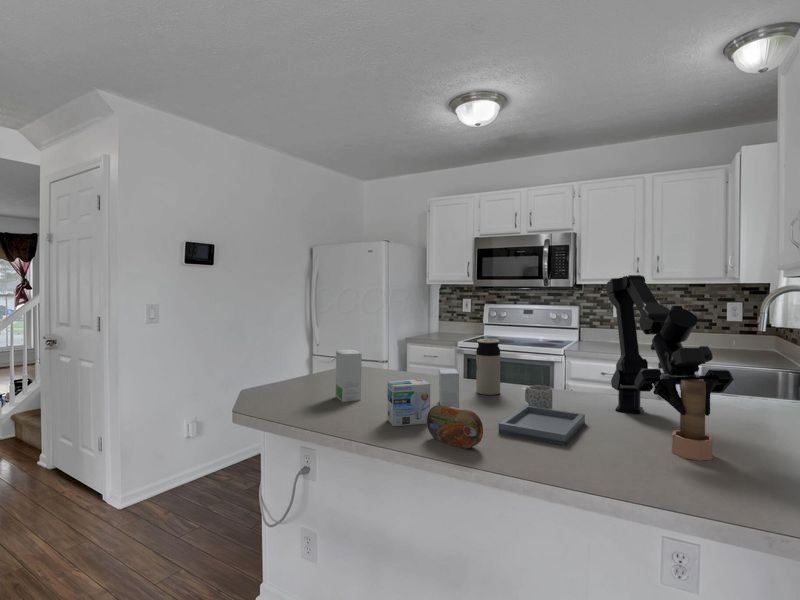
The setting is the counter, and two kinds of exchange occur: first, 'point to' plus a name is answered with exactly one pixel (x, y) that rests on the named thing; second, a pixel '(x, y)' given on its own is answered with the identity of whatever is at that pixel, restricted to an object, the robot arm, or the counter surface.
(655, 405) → the counter surface
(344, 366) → the skincare box
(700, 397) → the walnut dowel
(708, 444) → the terracotta cup
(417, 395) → the light bulb box
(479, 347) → the travel mug
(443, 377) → the small box
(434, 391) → the counter surface
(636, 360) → the robot arm
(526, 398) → the mug
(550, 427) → the slate tray
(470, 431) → the tin
